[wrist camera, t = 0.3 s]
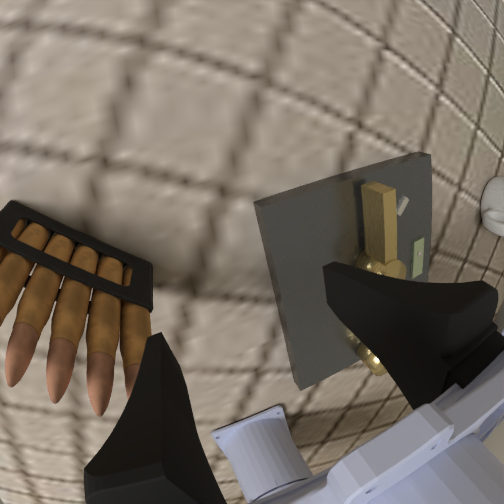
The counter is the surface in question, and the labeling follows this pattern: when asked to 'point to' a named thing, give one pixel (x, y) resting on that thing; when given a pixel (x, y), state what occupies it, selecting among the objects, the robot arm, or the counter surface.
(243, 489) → the robot arm
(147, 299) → the ammunition clip
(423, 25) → the counter surface
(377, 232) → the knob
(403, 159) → the base plate
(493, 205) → the cup
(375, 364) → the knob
